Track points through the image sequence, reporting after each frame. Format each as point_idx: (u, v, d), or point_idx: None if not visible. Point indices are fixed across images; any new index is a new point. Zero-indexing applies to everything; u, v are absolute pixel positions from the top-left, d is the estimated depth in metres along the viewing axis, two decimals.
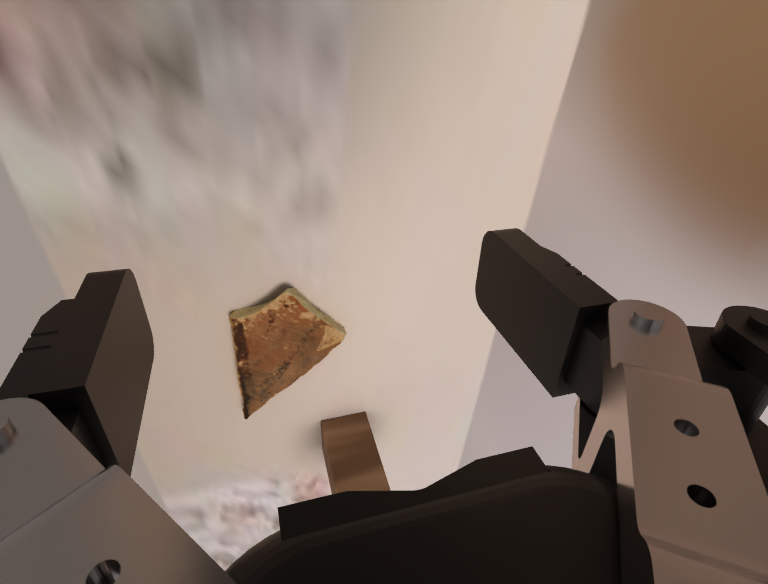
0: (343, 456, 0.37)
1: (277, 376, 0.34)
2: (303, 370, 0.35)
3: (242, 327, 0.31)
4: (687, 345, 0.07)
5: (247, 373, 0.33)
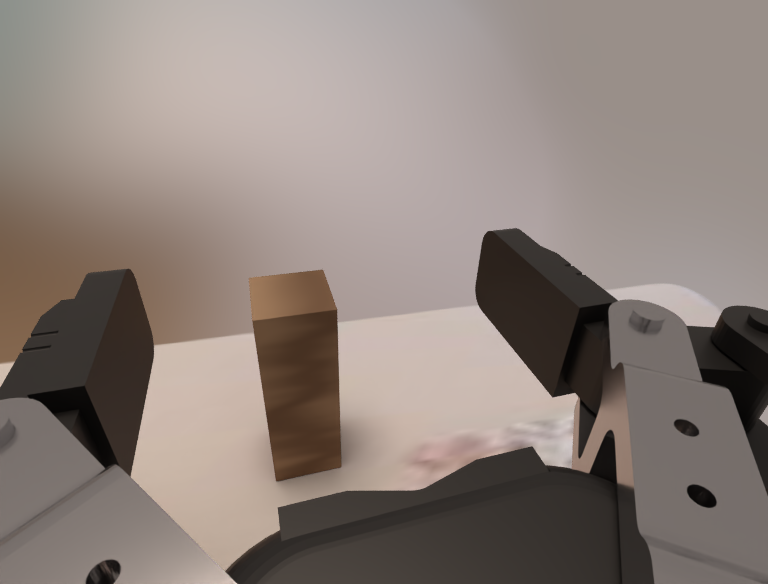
0: None
1: None
2: None
3: None
4: (687, 345, 0.07)
5: None
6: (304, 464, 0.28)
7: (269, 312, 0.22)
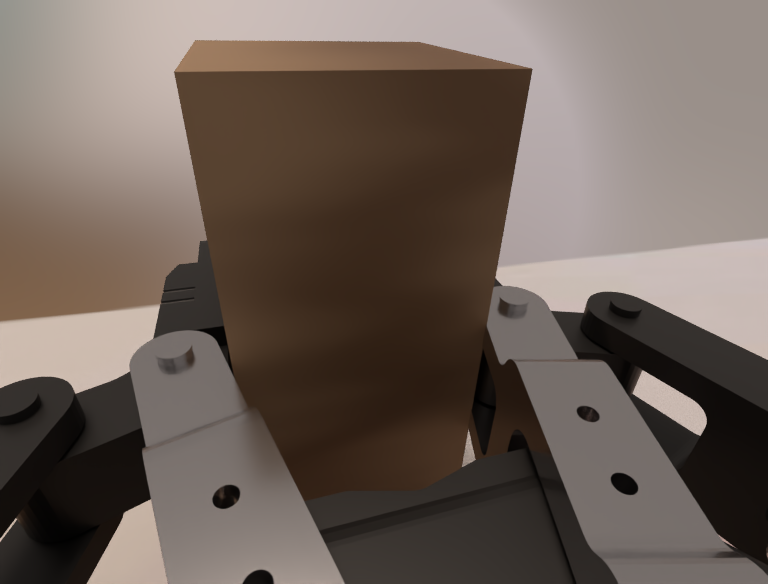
0: None
1: None
2: None
3: None
4: (541, 328, 0.07)
5: None
6: None
7: (258, 64, 0.05)
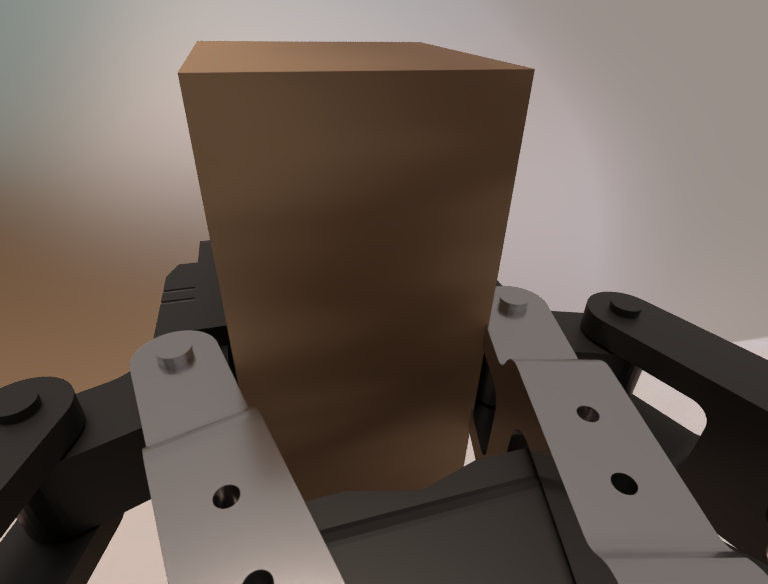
0: None
1: None
2: None
3: None
4: (541, 328, 0.07)
5: None
6: None
7: (261, 65, 0.05)
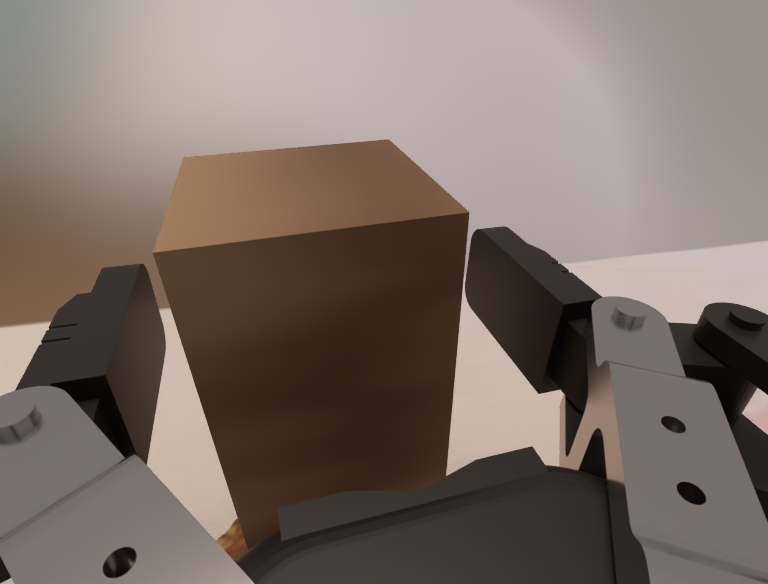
0: None
1: None
2: None
3: None
4: (667, 341, 0.07)
5: None
6: None
7: (227, 225, 0.06)
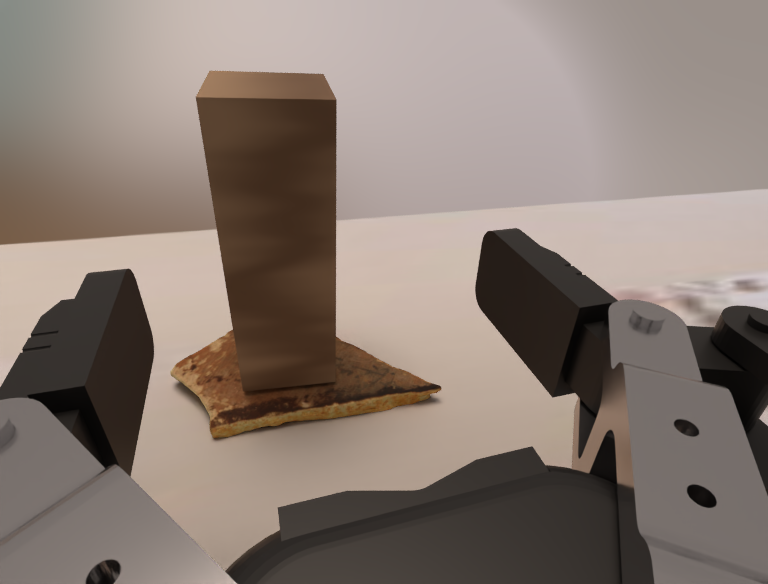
0: None
1: (337, 361, 0.22)
2: None
3: (228, 411, 0.20)
4: (687, 345, 0.07)
5: (329, 394, 0.20)
6: (283, 370, 0.20)
7: (228, 93, 0.14)
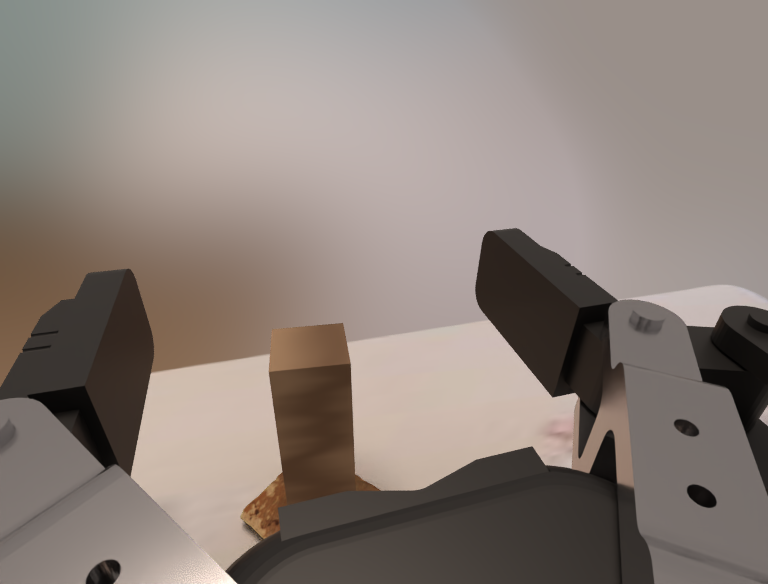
0: None
1: None
2: None
3: None
4: (687, 345, 0.07)
5: None
6: None
7: (286, 363, 0.23)
